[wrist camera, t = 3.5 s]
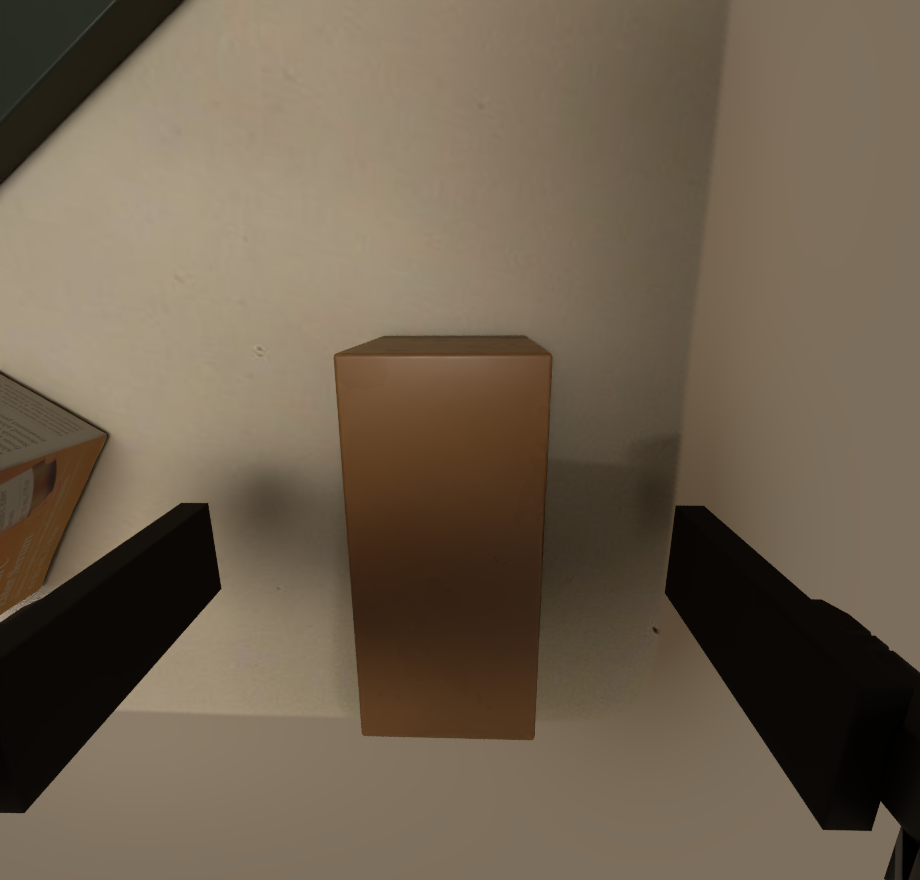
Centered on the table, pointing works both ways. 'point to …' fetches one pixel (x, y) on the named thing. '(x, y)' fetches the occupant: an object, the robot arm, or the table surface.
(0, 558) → the small box
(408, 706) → the brown rectangular block
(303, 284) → the table surface
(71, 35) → the chalkboard
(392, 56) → the table surface
